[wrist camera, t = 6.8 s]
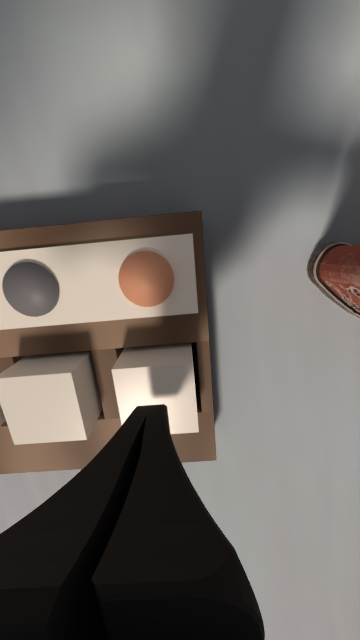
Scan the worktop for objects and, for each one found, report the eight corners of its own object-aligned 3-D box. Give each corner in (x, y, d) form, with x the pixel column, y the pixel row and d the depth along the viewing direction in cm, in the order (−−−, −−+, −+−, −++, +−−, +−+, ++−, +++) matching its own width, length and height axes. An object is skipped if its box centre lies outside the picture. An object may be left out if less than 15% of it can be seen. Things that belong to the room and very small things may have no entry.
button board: (-21, 448, 19) (-51, 477, 16) (-99, 246, 15) (-154, 245, 12) (212, 432, 18) (216, 460, 16) (197, 217, 14) (201, 210, 12)
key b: (44, 409, 16) (14, 444, 13) (28, 354, 15) (-8, 378, 12) (104, 405, 16) (86, 439, 13) (92, 348, 15) (71, 372, 12)
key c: (134, 403, 16) (123, 437, 13) (125, 346, 15) (111, 369, 12) (195, 398, 16) (198, 432, 13) (190, 340, 15) (193, 363, 12)
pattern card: (-104, 337, 14) (-113, 340, 13) (-136, 265, 12) (-146, 265, 12) (198, 312, 13) (198, 314, 13) (192, 233, 12) (192, 233, 12)
